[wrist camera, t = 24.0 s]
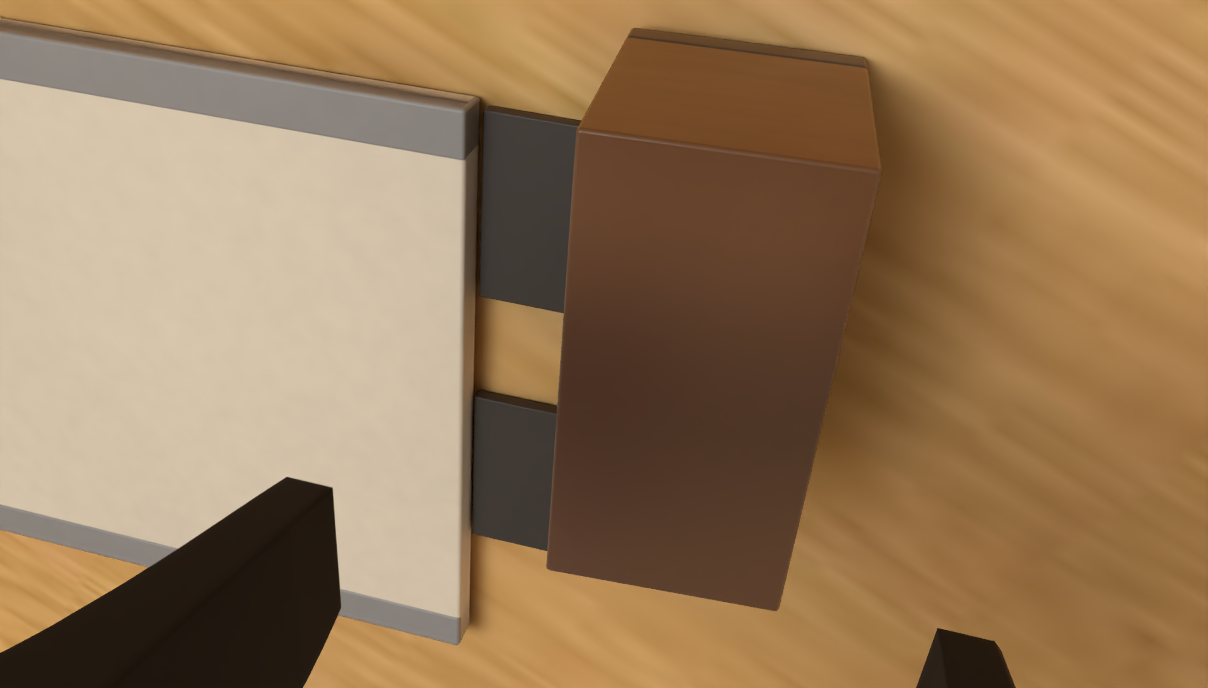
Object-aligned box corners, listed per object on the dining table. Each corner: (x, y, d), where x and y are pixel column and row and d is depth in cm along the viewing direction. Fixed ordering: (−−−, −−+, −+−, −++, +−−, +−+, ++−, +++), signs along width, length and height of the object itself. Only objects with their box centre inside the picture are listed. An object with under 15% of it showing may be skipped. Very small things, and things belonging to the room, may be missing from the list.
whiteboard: (470, 623, 27) (458, 647, 27) (-192, 458, 30) (-218, 475, 30) (480, 96, 20) (465, 110, 19) (-399, -50, 23) (-440, -42, 22)
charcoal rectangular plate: (597, 554, 25) (594, 562, 25) (476, 525, 25) (472, 534, 25) (611, 417, 23) (608, 424, 23) (478, 389, 23) (474, 396, 23)
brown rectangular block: (785, 437, 22) (778, 612, 18) (595, 406, 22) (545, 571, 18) (867, 56, 18) (883, 170, 14) (630, 25, 18) (575, 127, 14)
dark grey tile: (623, 317, 22) (620, 325, 21) (483, 289, 22) (478, 297, 22) (644, 130, 19) (641, 136, 19) (487, 104, 20) (482, 109, 20)
